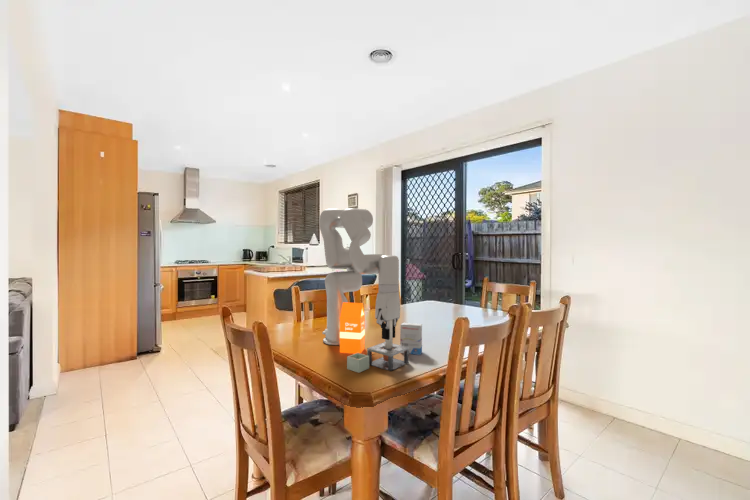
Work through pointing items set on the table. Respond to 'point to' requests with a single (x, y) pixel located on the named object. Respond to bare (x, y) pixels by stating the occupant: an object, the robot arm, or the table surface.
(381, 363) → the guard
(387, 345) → the grey rod
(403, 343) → the ink box
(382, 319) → the robot arm
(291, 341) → the table surface
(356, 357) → the box
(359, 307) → the orange juice
